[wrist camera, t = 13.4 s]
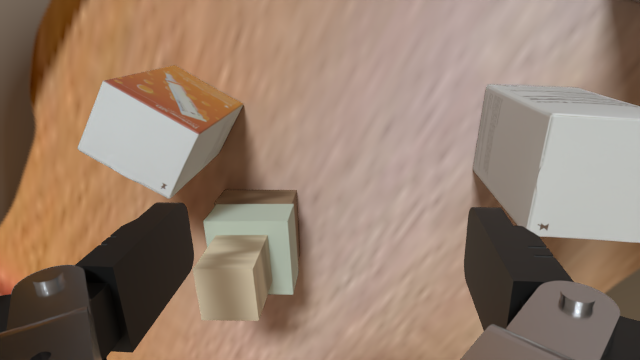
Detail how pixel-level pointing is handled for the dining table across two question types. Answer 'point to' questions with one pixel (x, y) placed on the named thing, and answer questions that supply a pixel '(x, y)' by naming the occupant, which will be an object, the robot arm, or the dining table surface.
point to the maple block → (233, 278)
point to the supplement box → (562, 161)
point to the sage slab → (262, 222)
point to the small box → (158, 127)
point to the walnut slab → (263, 201)
